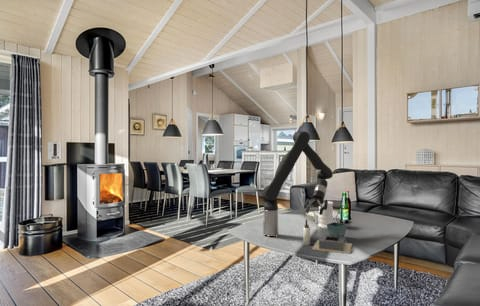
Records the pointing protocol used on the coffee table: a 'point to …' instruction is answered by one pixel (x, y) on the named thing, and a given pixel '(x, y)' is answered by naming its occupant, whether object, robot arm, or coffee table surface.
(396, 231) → the coffee table surface
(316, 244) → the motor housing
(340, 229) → the flower pot
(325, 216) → the decorative container
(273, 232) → the robot arm
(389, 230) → the coffee table surface
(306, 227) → the plug
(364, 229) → the coffee table surface
